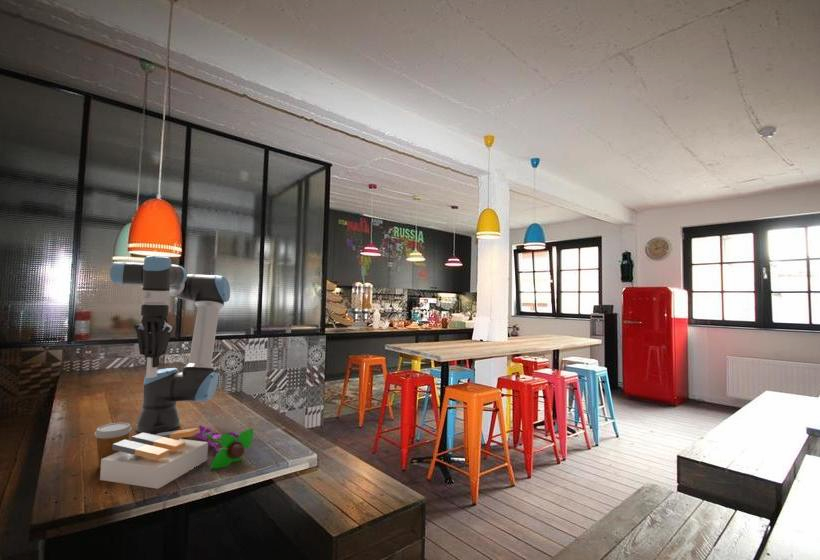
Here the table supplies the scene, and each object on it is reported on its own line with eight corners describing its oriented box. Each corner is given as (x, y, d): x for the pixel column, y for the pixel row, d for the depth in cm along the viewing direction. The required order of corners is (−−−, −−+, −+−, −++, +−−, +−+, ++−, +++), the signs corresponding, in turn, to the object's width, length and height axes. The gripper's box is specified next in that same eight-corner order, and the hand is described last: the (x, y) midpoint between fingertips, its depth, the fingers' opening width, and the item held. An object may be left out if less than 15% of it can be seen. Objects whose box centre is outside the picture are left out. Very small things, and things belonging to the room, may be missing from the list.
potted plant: (226, 486, 124) (185, 460, 148) (269, 446, 136) (225, 428, 159) (206, 456, 121) (167, 435, 144) (251, 418, 132) (209, 404, 155)
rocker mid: (131, 441, 125) (131, 436, 125) (142, 437, 129) (142, 432, 129) (174, 451, 122) (175, 446, 122) (184, 446, 126) (185, 441, 126)
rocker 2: (149, 442, 131) (148, 437, 131) (159, 437, 135) (158, 433, 135) (191, 436, 128) (190, 431, 128) (200, 432, 132) (199, 427, 132)
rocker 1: (112, 449, 118) (112, 444, 118) (124, 444, 122) (124, 439, 122) (157, 460, 115) (158, 454, 115) (168, 454, 119) (169, 449, 119)
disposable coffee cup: (105, 458, 131) (107, 421, 132) (136, 458, 132) (138, 422, 133) (84, 471, 122) (87, 431, 122) (117, 471, 123) (119, 432, 123)
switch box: (100, 479, 117) (101, 454, 117) (155, 453, 137) (157, 431, 137) (158, 488, 113) (159, 462, 113) (207, 460, 133) (208, 437, 133)
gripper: (128, 303, 127) (123, 378, 126) (163, 305, 124) (159, 381, 124) (147, 302, 134) (143, 373, 133) (181, 304, 132) (178, 376, 131)
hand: (151, 377), depth 128 cm, fingers closed
